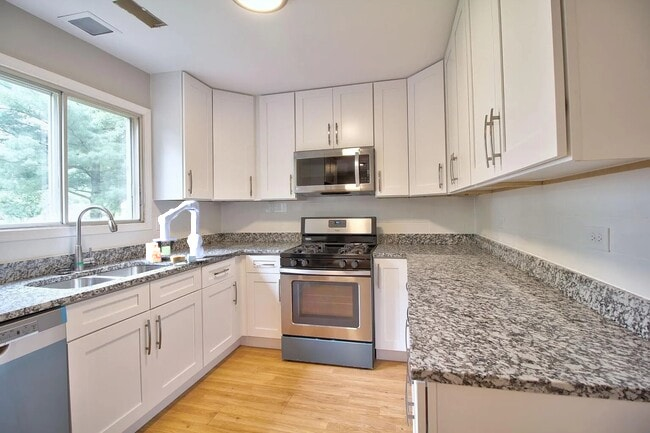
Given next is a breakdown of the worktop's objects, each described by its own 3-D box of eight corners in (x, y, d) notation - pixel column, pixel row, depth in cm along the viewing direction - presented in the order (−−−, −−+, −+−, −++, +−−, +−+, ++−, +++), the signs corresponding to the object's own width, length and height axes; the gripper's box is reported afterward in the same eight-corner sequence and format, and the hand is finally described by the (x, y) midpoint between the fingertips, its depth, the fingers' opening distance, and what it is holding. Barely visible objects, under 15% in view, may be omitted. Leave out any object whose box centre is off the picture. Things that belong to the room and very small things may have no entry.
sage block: (169, 253, 206) (169, 246, 206) (170, 254, 202) (170, 247, 202) (161, 254, 204) (161, 246, 204) (162, 255, 199) (161, 247, 199)
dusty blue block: (194, 261, 214) (194, 254, 214) (196, 262, 210) (195, 255, 210) (187, 261, 212) (187, 254, 211) (188, 263, 207) (188, 255, 207)
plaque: (187, 262, 207) (187, 261, 207) (189, 264, 200) (189, 263, 200) (173, 264, 203) (173, 263, 203) (174, 266, 195) (174, 265, 195)
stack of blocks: (161, 262, 212) (161, 244, 212) (151, 263, 208) (151, 245, 208) (155, 258, 229) (155, 242, 228) (146, 259, 225) (145, 243, 224)
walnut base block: (182, 260, 220) (182, 254, 220) (185, 261, 213) (185, 256, 213) (170, 261, 215) (170, 256, 215) (172, 263, 209) (172, 257, 208)
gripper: (153, 233, 195) (153, 253, 196) (177, 232, 203) (178, 251, 203) (152, 232, 201) (153, 252, 202) (176, 231, 209) (177, 250, 209)
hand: (165, 252), depth 203 cm, fingers closed on sage block, 5 cm apart
